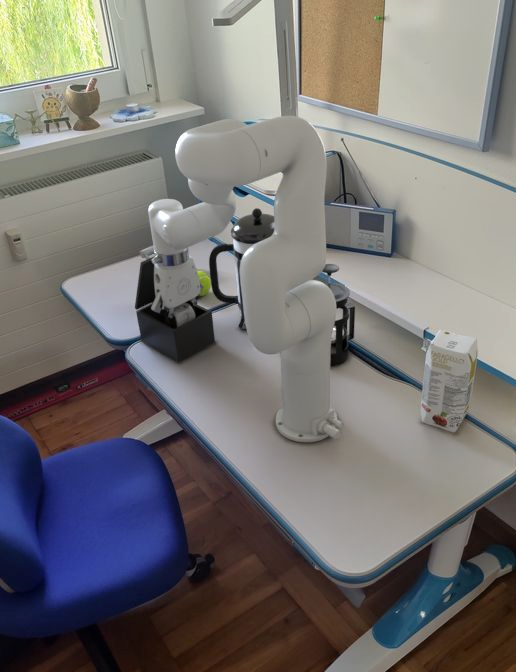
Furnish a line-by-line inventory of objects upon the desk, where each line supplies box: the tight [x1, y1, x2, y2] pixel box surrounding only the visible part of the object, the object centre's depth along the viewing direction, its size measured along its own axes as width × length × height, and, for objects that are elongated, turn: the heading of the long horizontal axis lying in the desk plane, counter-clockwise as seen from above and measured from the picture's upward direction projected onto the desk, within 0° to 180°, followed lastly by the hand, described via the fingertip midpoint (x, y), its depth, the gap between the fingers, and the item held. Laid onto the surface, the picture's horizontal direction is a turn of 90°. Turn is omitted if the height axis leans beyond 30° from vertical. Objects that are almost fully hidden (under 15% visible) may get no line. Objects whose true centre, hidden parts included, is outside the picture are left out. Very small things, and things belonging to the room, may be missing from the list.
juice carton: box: [420, 328, 479, 433], centre depth 128 cm, size 8×9×19 cm
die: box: [167, 303, 195, 327], centre depth 156 cm, size 5×5×5 cm
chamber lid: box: [134, 245, 156, 311], centre depth 157 cm, size 15×12×5 cm
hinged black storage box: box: [135, 302, 216, 364], centre depth 160 cm, size 15×12×9 cm
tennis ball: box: [197, 270, 212, 297], centre depth 180 cm, size 7×7×7 cm
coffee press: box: [208, 207, 275, 331], centre depth 160 cm, size 17×16×30 cm
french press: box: [321, 263, 356, 368], centre depth 148 cm, size 12×9×23 cm
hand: (181, 323), depth 157 cm, fingers closed on die, 5 cm apart
